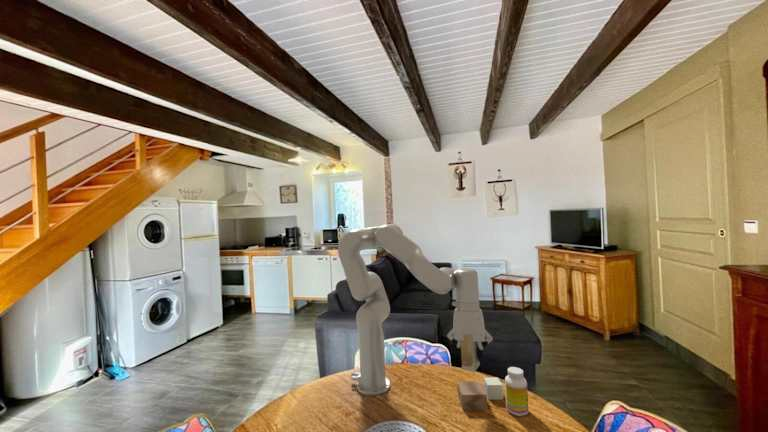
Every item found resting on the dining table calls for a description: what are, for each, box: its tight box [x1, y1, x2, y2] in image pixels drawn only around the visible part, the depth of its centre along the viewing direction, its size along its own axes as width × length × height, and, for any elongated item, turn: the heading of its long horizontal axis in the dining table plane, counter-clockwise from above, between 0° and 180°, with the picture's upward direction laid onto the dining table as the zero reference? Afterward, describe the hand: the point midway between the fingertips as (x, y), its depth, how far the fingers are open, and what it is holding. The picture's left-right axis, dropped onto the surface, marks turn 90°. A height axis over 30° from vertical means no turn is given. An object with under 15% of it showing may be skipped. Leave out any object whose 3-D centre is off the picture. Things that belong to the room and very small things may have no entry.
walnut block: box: [456, 381, 488, 411], centre depth 104 cm, size 8×8×5 cm
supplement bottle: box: [504, 366, 529, 417], centre depth 99 cm, size 7×7×13 cm
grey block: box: [483, 376, 504, 401], centre depth 108 cm, size 5×5×5 cm
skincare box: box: [460, 335, 481, 373], centre depth 104 cm, size 6×4×12 cm
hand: (470, 358), depth 104 cm, fingers closed on skincare box, 5 cm apart
